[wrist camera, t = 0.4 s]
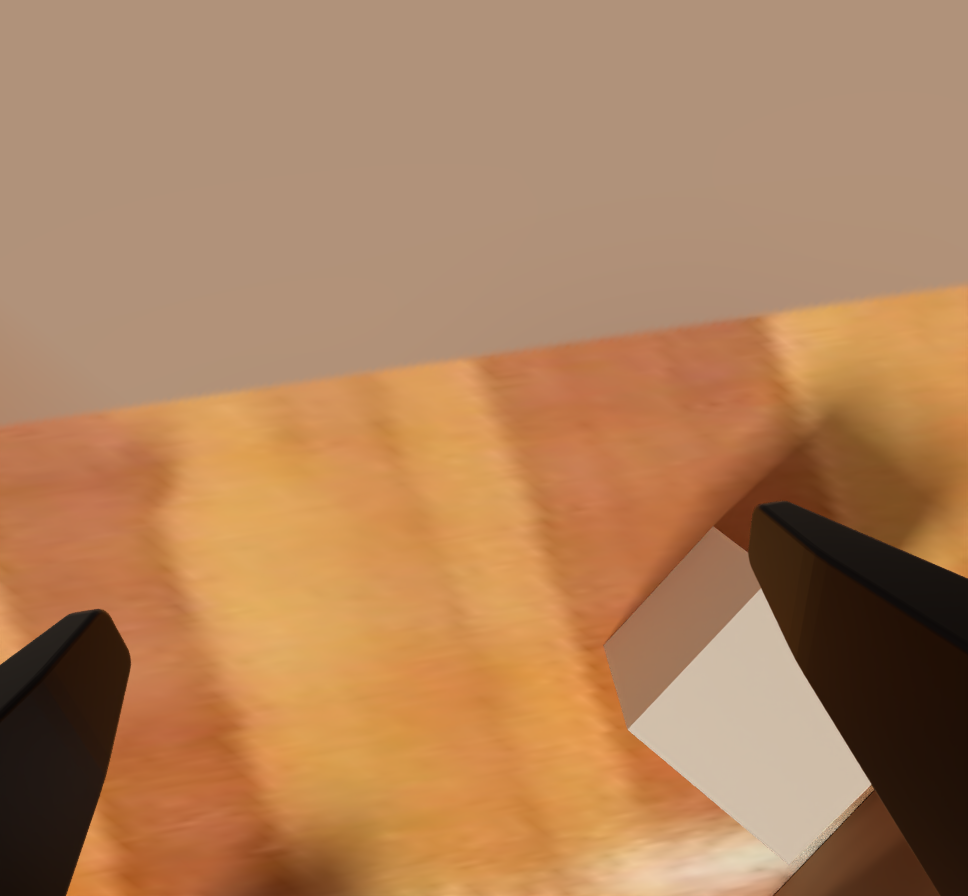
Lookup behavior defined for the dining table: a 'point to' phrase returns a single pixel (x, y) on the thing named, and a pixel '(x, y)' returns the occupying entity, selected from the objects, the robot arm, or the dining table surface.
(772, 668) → the plain white cube
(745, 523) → the dining table surface
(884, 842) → the stop board
